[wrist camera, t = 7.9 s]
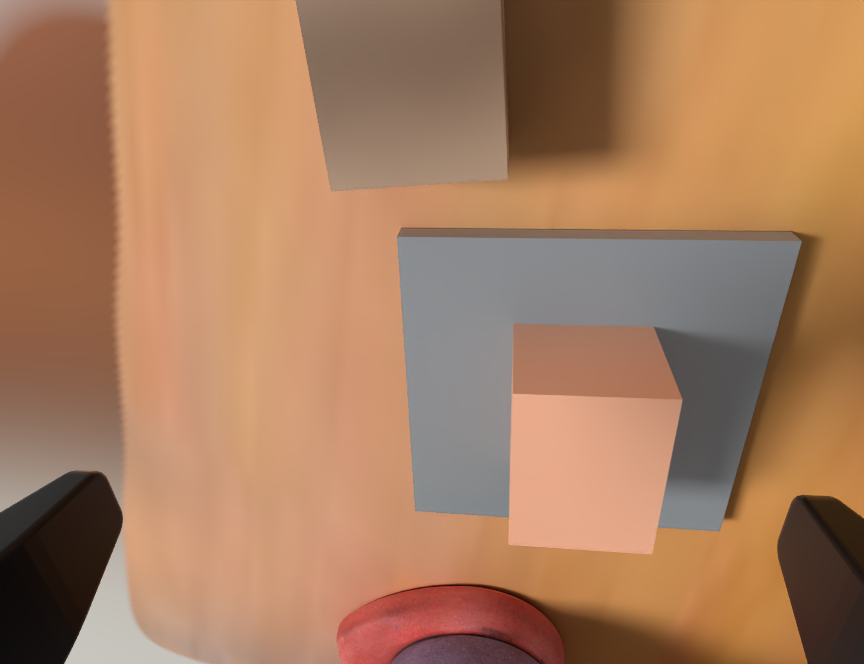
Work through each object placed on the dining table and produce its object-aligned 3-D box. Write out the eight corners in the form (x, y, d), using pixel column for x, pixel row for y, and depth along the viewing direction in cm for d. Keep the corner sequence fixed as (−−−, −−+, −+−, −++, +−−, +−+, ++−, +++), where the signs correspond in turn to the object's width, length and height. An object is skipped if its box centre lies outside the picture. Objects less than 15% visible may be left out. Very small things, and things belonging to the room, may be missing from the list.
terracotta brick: (631, 467, 23) (652, 554, 19) (509, 461, 23) (508, 544, 20) (653, 326, 20) (682, 399, 16) (513, 323, 20) (512, 393, 17)
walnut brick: (509, 142, 18) (508, 179, 15) (364, 153, 19) (331, 191, 16) (500, -99, 15) (495, -123, 12) (329, -75, 16) (278, -92, 13)
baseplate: (714, 516, 24) (719, 531, 24) (418, 496, 26) (415, 511, 25) (791, 231, 18) (802, 241, 18) (401, 227, 20) (397, 236, 19)
